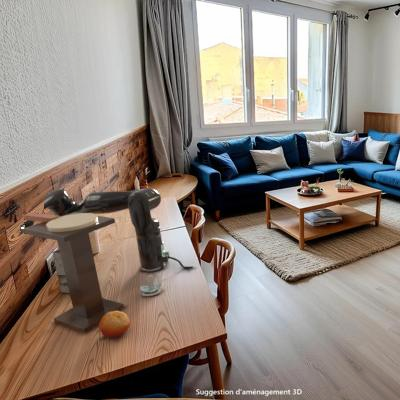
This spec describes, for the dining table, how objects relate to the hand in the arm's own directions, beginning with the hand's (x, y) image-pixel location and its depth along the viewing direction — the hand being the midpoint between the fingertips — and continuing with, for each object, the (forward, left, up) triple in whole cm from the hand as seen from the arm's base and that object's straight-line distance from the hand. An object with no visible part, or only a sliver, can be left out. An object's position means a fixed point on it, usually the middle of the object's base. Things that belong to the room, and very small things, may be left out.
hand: (17, 225), depth 115 cm
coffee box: (-11, -5, -28) cm, 31 cm away
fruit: (-33, +28, -28) cm, 52 cm away
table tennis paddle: (-18, +13, +4) cm, 23 cm away
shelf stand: (-21, +15, -28) cm, 38 cm away
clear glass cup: (-39, +6, -28) cm, 49 cm away
